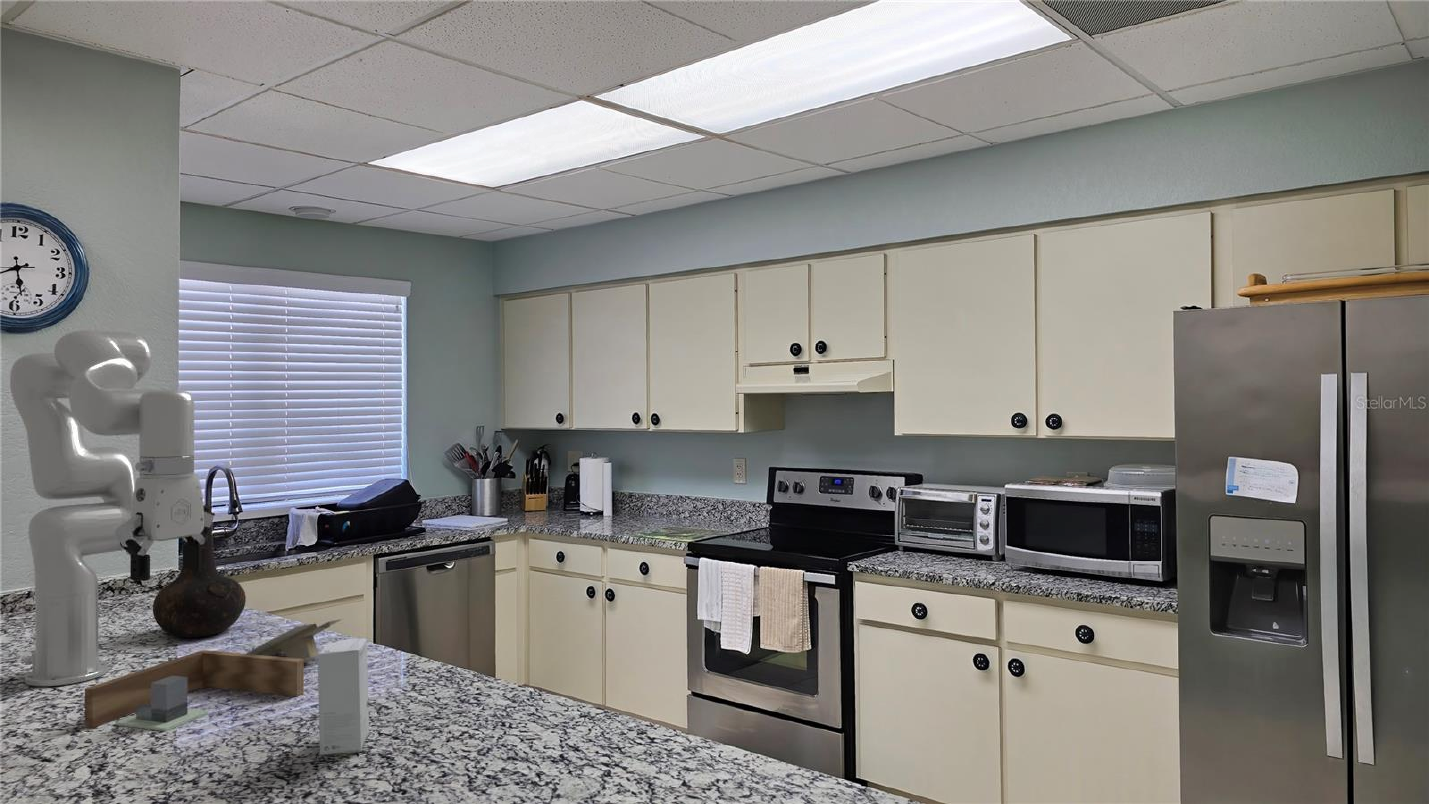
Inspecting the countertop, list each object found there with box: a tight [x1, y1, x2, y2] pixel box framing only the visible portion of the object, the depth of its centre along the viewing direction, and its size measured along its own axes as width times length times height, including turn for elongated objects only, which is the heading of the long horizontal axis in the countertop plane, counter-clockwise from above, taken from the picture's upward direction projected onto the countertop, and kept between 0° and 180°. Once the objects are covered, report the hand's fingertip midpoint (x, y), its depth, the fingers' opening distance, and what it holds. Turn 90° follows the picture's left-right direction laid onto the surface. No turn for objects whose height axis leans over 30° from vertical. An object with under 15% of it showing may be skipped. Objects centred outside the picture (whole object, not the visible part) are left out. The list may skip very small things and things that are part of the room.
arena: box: [84, 649, 305, 729], centre depth 150 cm, size 22×23×6 cm
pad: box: [115, 708, 209, 732], centre depth 145 cm, size 10×8×1 cm
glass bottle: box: [152, 504, 246, 639], centre depth 199 cm, size 18×18×28 cm
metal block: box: [135, 676, 188, 723], centre depth 145 cm, size 4×6×6 cm, turn 75°
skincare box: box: [317, 637, 370, 756], centre depth 135 cm, size 8×6×15 cm
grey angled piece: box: [245, 618, 343, 664], centre depth 175 cm, size 16×9×15 cm
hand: (166, 574), depth 145 cm, fingers open, 9 cm apart
